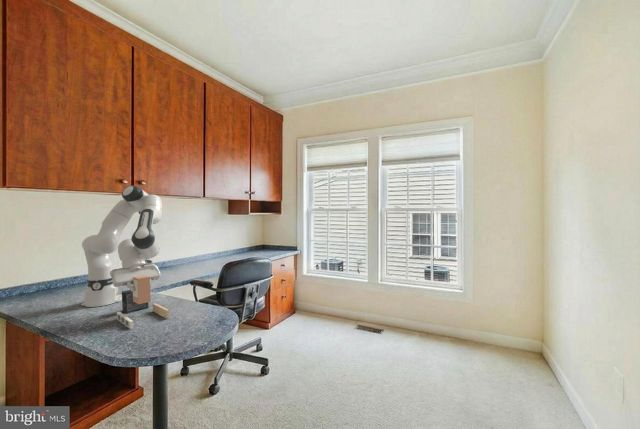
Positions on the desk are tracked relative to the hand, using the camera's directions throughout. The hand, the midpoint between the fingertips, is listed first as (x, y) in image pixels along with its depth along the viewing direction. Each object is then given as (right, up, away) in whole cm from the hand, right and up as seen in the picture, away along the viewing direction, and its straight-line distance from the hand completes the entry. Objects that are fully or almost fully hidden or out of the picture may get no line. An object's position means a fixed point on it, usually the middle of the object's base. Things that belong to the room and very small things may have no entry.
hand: (141, 288), depth 140 cm
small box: (-11, -14, +13) cm, 22 cm away
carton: (0, -6, 0) cm, 6 cm away
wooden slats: (+2, -14, -2) cm, 14 cm away
